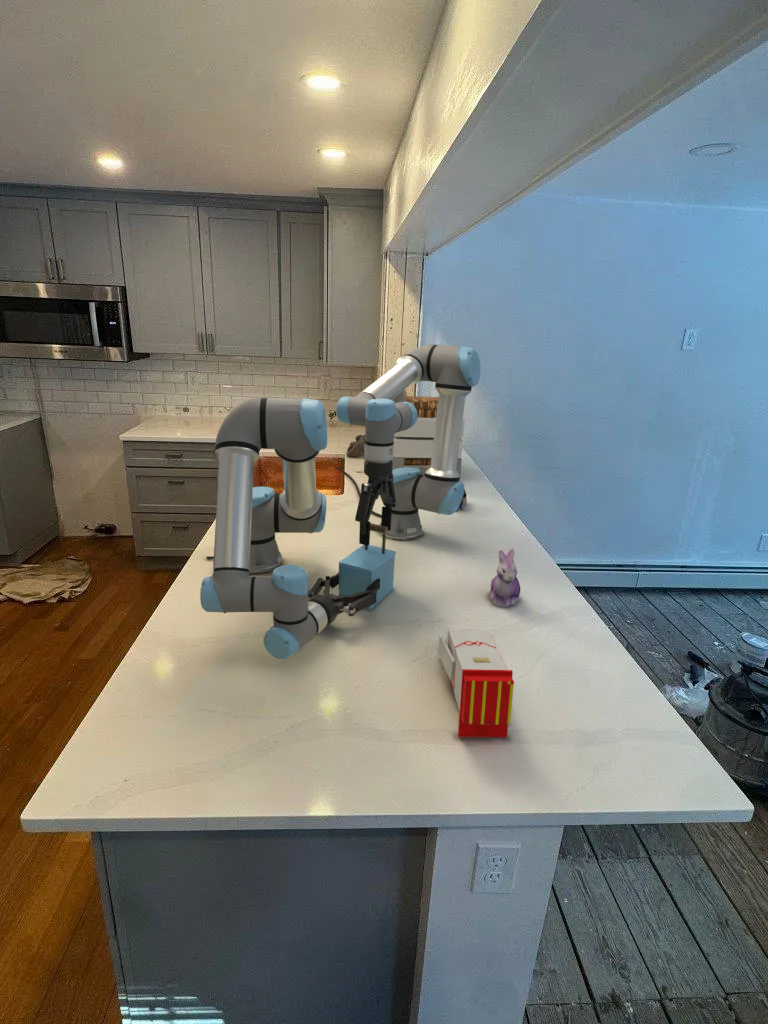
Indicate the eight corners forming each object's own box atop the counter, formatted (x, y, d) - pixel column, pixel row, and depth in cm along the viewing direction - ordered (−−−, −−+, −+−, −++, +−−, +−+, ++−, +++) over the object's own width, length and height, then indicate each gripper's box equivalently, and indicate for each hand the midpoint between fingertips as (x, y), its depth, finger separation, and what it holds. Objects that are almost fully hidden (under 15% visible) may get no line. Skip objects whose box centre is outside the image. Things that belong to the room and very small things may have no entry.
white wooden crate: (382, 463, 289) (386, 382, 275) (445, 464, 293) (451, 384, 279) (390, 482, 257) (394, 392, 243) (460, 483, 261) (468, 394, 247)
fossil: (346, 440, 316) (367, 425, 311) (357, 453, 319) (378, 438, 314) (340, 453, 296) (362, 438, 291) (351, 468, 299) (374, 452, 294)
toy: (488, 613, 130) (523, 677, 101) (484, 667, 133) (517, 744, 104) (435, 612, 130) (455, 676, 101) (432, 666, 133) (451, 743, 103)
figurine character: (467, 515, 225) (461, 499, 238) (469, 498, 221) (463, 482, 235) (450, 514, 224) (445, 498, 238) (452, 497, 221) (447, 482, 234)
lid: (364, 546, 161) (365, 517, 158) (395, 554, 157) (397, 524, 154) (338, 564, 149) (339, 533, 146) (371, 573, 145) (372, 541, 142)
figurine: (502, 611, 151) (509, 560, 146) (479, 594, 159) (485, 545, 154) (530, 604, 155) (537, 554, 150) (506, 588, 163) (512, 540, 158)
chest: (362, 580, 165) (364, 547, 161) (393, 589, 161) (394, 554, 157) (338, 600, 153) (338, 565, 149) (370, 610, 149) (371, 573, 145)
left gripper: (277, 616, 139) (325, 581, 158) (356, 642, 130) (398, 601, 149) (276, 589, 136) (326, 556, 155) (357, 613, 127) (399, 575, 146)
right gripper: (369, 472, 136) (366, 554, 143) (410, 452, 156) (406, 525, 164) (342, 467, 139) (340, 548, 146) (386, 448, 159) (383, 520, 167)
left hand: (361, 578), depth 152 cm, fingers closed on chest, 10 cm apart
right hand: (375, 536), depth 155 cm, fingers open, 12 cm apart
